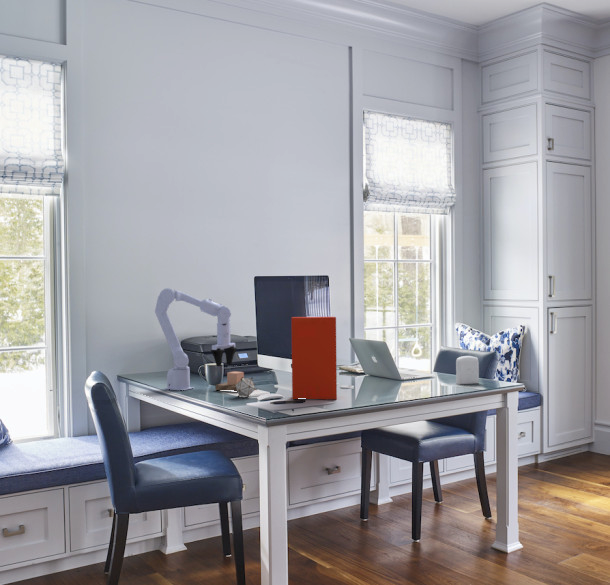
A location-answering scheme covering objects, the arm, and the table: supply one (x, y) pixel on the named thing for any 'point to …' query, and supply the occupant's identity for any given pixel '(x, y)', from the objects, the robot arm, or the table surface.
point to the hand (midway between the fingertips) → (224, 365)
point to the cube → (234, 377)
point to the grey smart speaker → (467, 370)
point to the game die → (245, 387)
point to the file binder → (314, 358)
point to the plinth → (226, 387)
